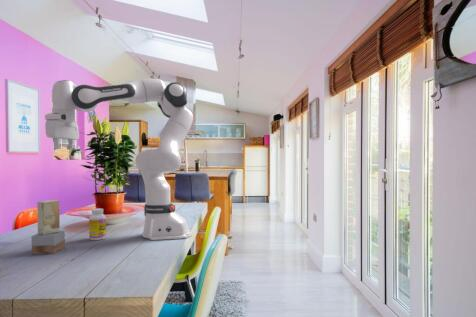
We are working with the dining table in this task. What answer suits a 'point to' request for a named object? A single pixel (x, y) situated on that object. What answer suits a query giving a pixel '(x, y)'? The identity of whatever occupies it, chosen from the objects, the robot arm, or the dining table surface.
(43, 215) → the skincare box
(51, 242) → the tower top
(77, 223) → the dining table surface
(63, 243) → the tower base
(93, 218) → the supplement bottle
